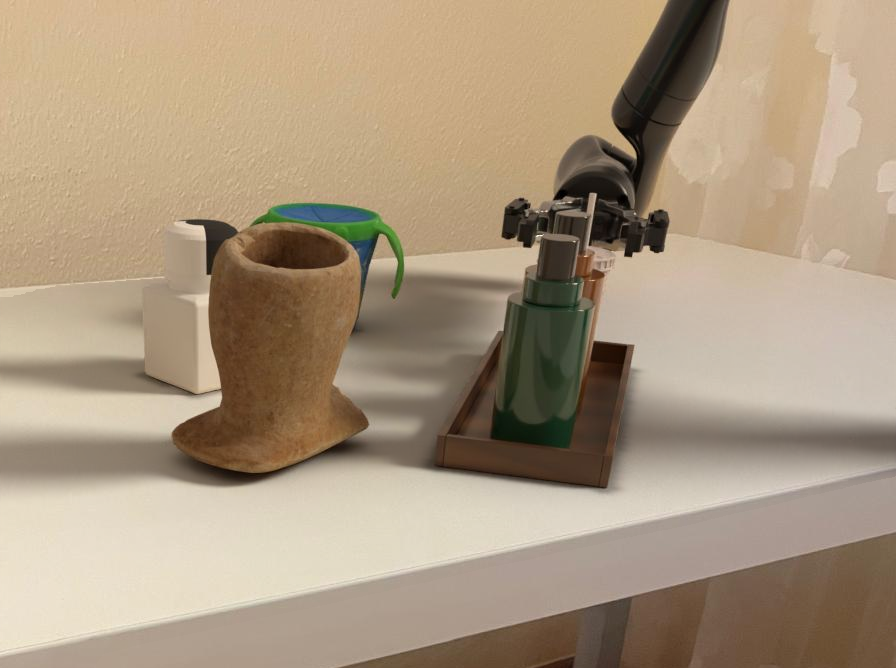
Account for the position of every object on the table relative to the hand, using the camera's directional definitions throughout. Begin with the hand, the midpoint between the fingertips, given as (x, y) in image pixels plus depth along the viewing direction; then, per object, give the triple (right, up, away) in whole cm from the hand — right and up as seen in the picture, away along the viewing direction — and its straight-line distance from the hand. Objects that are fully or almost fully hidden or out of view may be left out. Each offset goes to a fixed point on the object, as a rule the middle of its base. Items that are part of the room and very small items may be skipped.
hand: (579, 239), depth 101 cm
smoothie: (-1, -10, +3) cm, 11 cm away
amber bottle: (-4, -16, -5) cm, 17 cm away
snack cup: (-22, -1, +16) cm, 27 cm away
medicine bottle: (-32, -12, 0) cm, 34 cm away
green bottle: (-7, -21, -13) cm, 25 cm away
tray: (-4, -16, -4) cm, 17 cm away
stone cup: (-25, -22, -14) cm, 37 cm away
